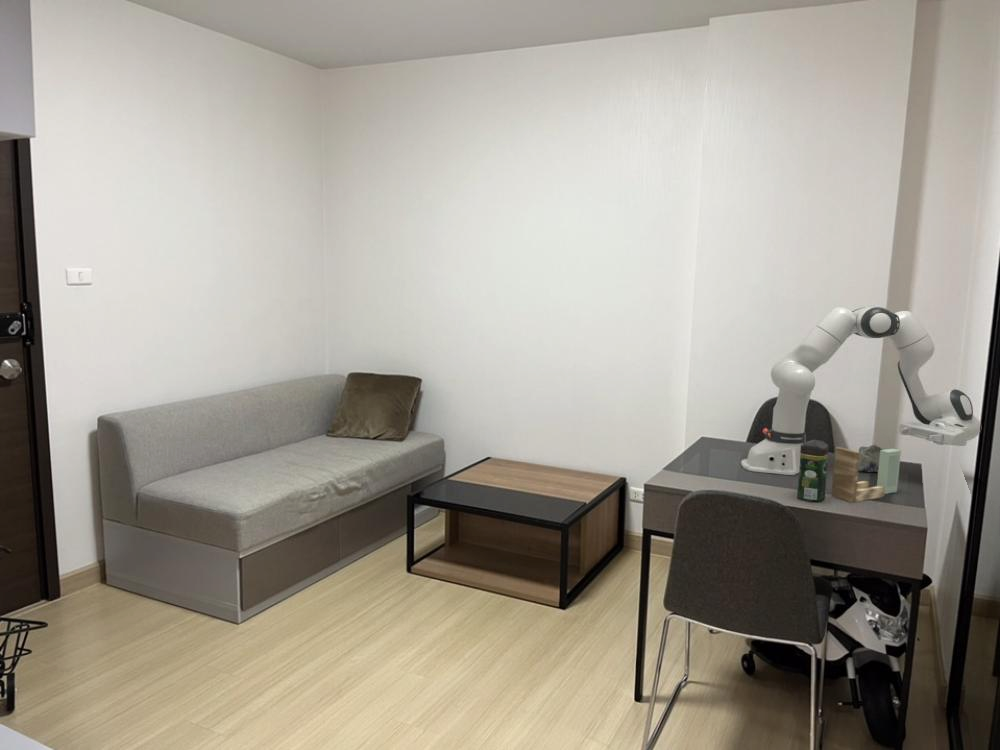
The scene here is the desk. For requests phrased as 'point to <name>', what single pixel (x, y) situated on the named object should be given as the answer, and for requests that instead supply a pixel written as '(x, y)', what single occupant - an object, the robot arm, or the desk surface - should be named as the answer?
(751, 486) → the desk surface
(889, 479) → the mint green rectangular block
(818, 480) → the coffee jar
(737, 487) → the desk surface
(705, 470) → the desk surface
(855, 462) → the track
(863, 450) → the mineral rock
